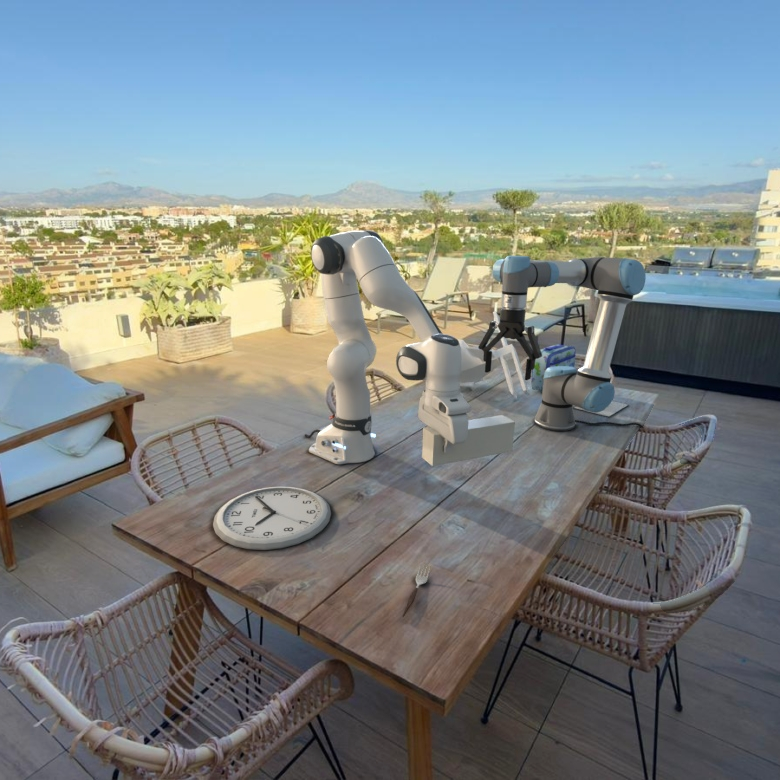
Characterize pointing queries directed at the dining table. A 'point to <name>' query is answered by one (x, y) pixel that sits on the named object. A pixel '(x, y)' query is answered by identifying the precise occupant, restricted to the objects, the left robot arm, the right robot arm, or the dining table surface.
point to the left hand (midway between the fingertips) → (439, 447)
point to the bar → (471, 441)
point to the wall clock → (272, 518)
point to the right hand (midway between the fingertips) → (507, 375)
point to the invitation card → (609, 408)
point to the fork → (419, 580)
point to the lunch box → (551, 362)
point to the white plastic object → (476, 365)
